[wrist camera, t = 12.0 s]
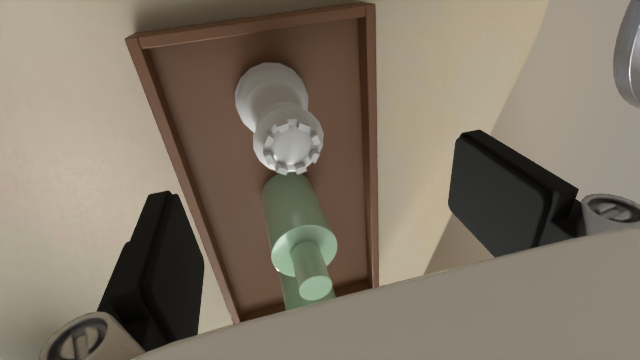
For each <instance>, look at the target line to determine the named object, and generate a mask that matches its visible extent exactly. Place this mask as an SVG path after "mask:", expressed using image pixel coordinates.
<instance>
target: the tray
mask: <svg viewBox="0 0 640 360" xmlns="http://www.w3.org/2000/svg"><path fill="white" fill-rule="evenodd" d="M125 42H126V45H127V47H128V50H129V52H130V55H131V58H132V60H133V63H134V65H135V68H136V71H137V73H138V76H139V78H140V81H141V84H142V86H143V89H144V91H145V94H146V97H147V99H148V102H149V105H150V107H151V110H152V112H153V115H154V118H155V120H156V123H157V125H158V128H159V131H160V133H161V136H162V138H163V141H164V144H165V146H166V149H167V152H168V154H169V157H170V159H171V162H172V165H173V167H174V170H175V172H176V175H177V178H178V180H179V183H180V185H181V188H182V191H183V193H184V196H185V198H186V201H187V204H188V206H189V209H190V212H191V214H192V217H193V219H194V222H195V225H196V227H197V230H198V232H199V235H200V238H201V240H202V243H203V245H204V248H205V251H206V253H207V256H208V259H209V261H210V264H211V266H212V269H213V272H214V274H215V277H216V279H217V282H218V285H219V287H220V290H221V292H222V295H223V298H224V300H225V303H226V305H227V308H228V311H229V313H230V316H231V319H232V321H233V324H237V323H241V322H244V321H248V320H252V319H256V318H260V317H263V316H267V315H271V314H275V313H279V312H283V311H286V310H285V305H284V300H283V295H282V289H281V284H280V279H279V273H278V270H277V269H276V268H275V266H274V265H273V263H272V260H271V254H270V248H269V242H268V237H267V231H266V225H265V219H264V214H263V208H262V202H261V192H262V189H263V187H264V185H265V184H266V183H267V181H268V180H269V179H271V178H272V177H273V176H275V175H277V174H280V173H277V172H276V171H275V170H271V169H269V168H268V167H266V166H265V165H264V164H263V163H262V162H260V161H259V159H258V157H257V155H256V153H255V151H254V149H253V135H254V132H253V131H251V130H250V129H249V128H248V127H247V126H246V125H245V124H244V123H243V122H242V119H241V117H240V115H239V113H238V111H237V108H236V104H235V91H236V88H237V85H238V83H239V80H240V78H241V77H242V76H243V75H244V74H245V73H246V72H247V71H248V70H249V69H250V68H252V67H254V66H257V65H260V64H262V63H280V64H282V65H285V66H287V67H289V68H291V69H293V70H294V71H295V72H296V74H297V75H298V76H299V77H300V78H301V79H302V81H303V83H304V85H305V88H306V91H307V94H308V97H309V98H308V111H309V112H311V113H312V114H313V115H314V117H315V118H316V119H317V120H318V121H319V122H320V125H321V127H322V130H323V133H324V137H323V147H322V149H321V151H320V155H319V157H318V159H317V161H316V163H313V162H312V163H311V164H310V165H309V166H307V167H306V169H307V171H306V172H303V173H301V174H302V175H304V176H306V177H307V178H308V179H309V180H310V181H311V183H312V185H313V187H314V190H315V192H316V194H317V196H318V199H319V201H320V203H321V205H322V208H323V210H324V212H325V215H326V217H327V219H328V221H329V224H330V226H331V228H332V230H333V233H334V235H335V237H336V240H337V252H336V255H335V257H334V258H333V260H332V261H331V263H330V264H329V265H328V266H327V269H328V272H329V275H330V277H331V280H332V286H333V288H334V291H335V294H336V297H340V296H344V295H348V294H352V293H356V292H360V291H364V290H368V289H372V288H376V287H379V253H378V172H377V91H376V10H375V4H372V3H365V2H357V3H349V4H342V5H335V6H327V7H320V8H313V9H305V10H298V11H291V12H284V13H276V14H269V15H262V16H254V17H247V18H240V19H232V20H225V21H218V22H211V23H203V24H196V25H189V26H181V27H174V28H167V29H159V30H152V31H145V32H138V33H134V34H133V35H130V36H129V37H127V38H125Z"/></svg>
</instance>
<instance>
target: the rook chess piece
mask: <svg viewBox="0 0 640 360" xmlns="http://www.w3.org/2000/svg"><path fill="white" fill-rule="evenodd" d="M308 98H309V97H308V94H307V91H306V88H305V85H304V83H303V81H302V79H301V78H300V77H299V76H298V75H297V74H296V72H295V71H294V70H293V69H291V68H289V67H287V66H285V65H282V64H280V63H262V64H260V65H257V66H254V67H252V68H250V69H249V70H248V71H247V72H246V73H245V74H244V75H243V76H242V77H241V78H240V80H239V83H238V85H237V88H236V91H235V104H236V108H237V111H238V113H239V115H240V117H241V119H242V122H243V123H244V124H245V125H246V126H247V127H248V128H249V129H250V130H251V131H253V132H254V135H253V149H254V151H255V153H256V155H257V157H258V159H259V161H260V162H262V163H263V164H264V165H265V166H266V167H268V168H269V169H271V170H275V171H276V172H277V173H280V174H283V175H287V172H296V173H297V175H298V174H301V173H303V172H306V171H307V169H306V167H307V166H309V165H310V164H311V163H312V162H313V163H316V161H317V159H318V157H319V155H320V151H321V149H322V147H323V137H324V133H323V130H322V127H321V125H320V122H319V121H318V120H317V119H316V118H315V117H314V115H313V114H312V113H311V112H309V111H308Z"/></svg>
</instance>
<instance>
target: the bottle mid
mask: <svg viewBox="0 0 640 360" xmlns="http://www.w3.org/2000/svg"><path fill="white" fill-rule="evenodd" d="M261 202H262V208H263V214H264V219H265V225H266V231H267V237H268V242H269V248H270V254H271V260H272V263H273V265H274V266H275V268H276V269H277V270H278V271H279V272H281V273H283V274H285V275H288V276H292V277H295V278H296V282H297V286H298V290H299V294H300V295H301V296H302V297H303V298H304V299H307V300H317V299H320V298H323V297H324V296H326V295H327V294H328V293H329V292H330V290H331V289H332V280H331V277H330V275H329V272H328V269H327V266H328V265H329V264H330V263H331V261H332V260H333V258H334V257H335V255H336V252H337V240H336V237H335V235H334V233H333V230H332V228H331V226H330V224H329V221H328V219H327V217H326V215H325V212H324V210H323V208H322V205H321V203H320V201H319V199H318V196H317V194H316V192H315V190H314V187H313V185H312V183H311V181H310V180H309V179H308V178H307V177H306V176H304V175H302V174H298V175H297V173H296V172H287V175H283V174H277V175H275V176H273V177H272V178H271V179H269V180H268V181H267V183H266V184H265V185H264V187H263V189H262V192H261Z"/></svg>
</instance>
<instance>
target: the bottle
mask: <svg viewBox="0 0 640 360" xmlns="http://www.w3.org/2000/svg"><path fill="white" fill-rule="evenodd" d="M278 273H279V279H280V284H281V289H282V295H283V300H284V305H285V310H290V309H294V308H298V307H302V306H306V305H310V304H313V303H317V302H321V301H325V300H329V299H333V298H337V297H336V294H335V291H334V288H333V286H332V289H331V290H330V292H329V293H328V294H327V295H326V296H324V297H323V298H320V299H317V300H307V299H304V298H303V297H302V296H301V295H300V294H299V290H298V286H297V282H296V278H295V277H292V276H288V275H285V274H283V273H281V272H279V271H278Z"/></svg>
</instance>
